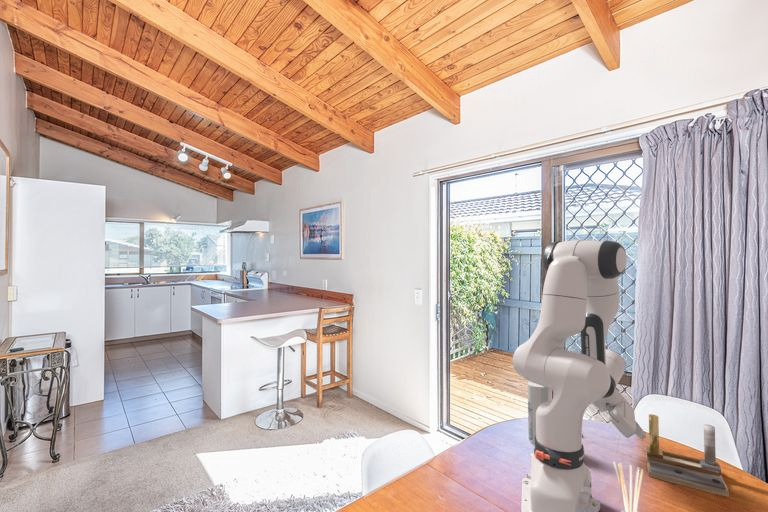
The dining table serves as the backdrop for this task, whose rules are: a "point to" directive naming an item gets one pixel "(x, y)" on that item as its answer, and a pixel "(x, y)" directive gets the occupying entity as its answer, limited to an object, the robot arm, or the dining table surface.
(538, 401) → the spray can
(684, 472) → the base
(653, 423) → the leg
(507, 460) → the dining table surface
